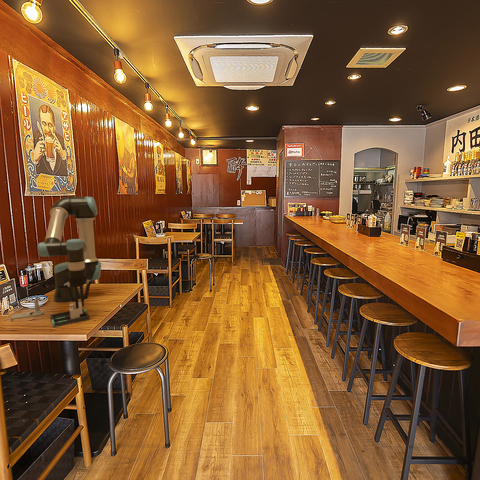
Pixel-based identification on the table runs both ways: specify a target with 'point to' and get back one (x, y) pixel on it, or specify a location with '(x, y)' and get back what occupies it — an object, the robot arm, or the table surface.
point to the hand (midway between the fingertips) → (80, 313)
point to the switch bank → (67, 318)
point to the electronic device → (30, 314)
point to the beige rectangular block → (72, 305)
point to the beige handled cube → (74, 312)
